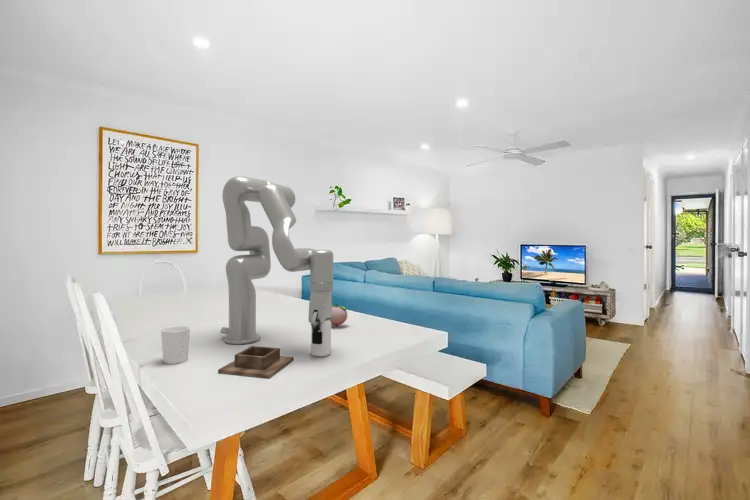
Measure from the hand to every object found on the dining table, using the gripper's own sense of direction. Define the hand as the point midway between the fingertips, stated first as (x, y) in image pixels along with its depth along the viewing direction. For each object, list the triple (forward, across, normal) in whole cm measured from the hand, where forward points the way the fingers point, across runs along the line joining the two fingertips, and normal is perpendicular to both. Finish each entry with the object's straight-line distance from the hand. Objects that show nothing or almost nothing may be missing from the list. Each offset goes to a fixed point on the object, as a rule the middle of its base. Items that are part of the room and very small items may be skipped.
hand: (321, 340), depth 129 cm
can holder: (+5, +16, -14) cm, 22 cm away
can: (+5, 0, 0) cm, 5 cm away
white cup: (+5, +18, -41) cm, 45 cm away
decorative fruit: (+5, -37, -7) cm, 38 cm away
